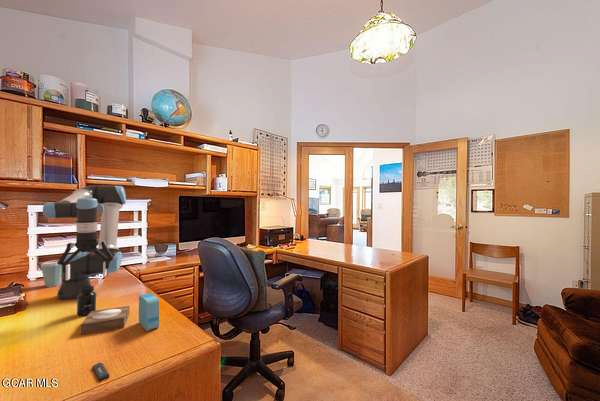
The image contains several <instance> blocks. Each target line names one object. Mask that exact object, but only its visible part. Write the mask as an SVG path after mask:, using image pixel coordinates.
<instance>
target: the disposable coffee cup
mask: <svg viewBox="0 0 600 401" xmlns="http://www.w3.org/2000/svg"><path fill="white" fill-rule="evenodd" d="M59 260H60V259H53V260H48V261H45V262H43V263H41V264H40V268H41V271H42V272H41V273H42V278H43V282H44V286H45V287H46V288H51V287H53V288H54V287H57V286H60V285H61V281H62V265H58V264H57V263H58V261H59Z"/></svg>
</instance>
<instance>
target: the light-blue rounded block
mask: <svg viewBox="0 0 600 401" xmlns="http://www.w3.org/2000/svg"><path fill="white" fill-rule="evenodd" d="M138 322H139V325H141V327H142V328H143V329H144V330H145V331H146V332H148V331H151V330H154V329H157V328H159V327H160V299H159V298H158V297H157V296H156V295H154V294H153V292H148V293H144V294H140V295H139V296H138Z"/></svg>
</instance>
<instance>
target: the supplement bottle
mask: <svg viewBox="0 0 600 401" xmlns="http://www.w3.org/2000/svg"><path fill="white" fill-rule="evenodd" d="M80 293H81V294H79V295H78V297H77V298H76V301H77V302H76V316H78V317H87V316H88V315H89V313H90V312H91V311H96V310H97V293H96V292H95V287H94V285H92V286H86V287H82V288H81V289H80Z"/></svg>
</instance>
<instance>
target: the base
mask: <svg viewBox="0 0 600 401" xmlns="http://www.w3.org/2000/svg"><path fill="white" fill-rule="evenodd" d="M129 316H130V305H126V306H119V307H112V308H106V309H105V308H104V309H98V310H97V309H96V311H91V312H90V313H89V315H87V316H85V318H84V320H83V321H82V323H81V324H80V336H83V335H90V334H95V333H100V332H107V331H111V330H112V331H113V330H117V329H124V328H125V326H126V323H127V321H128V319H129Z"/></svg>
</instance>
